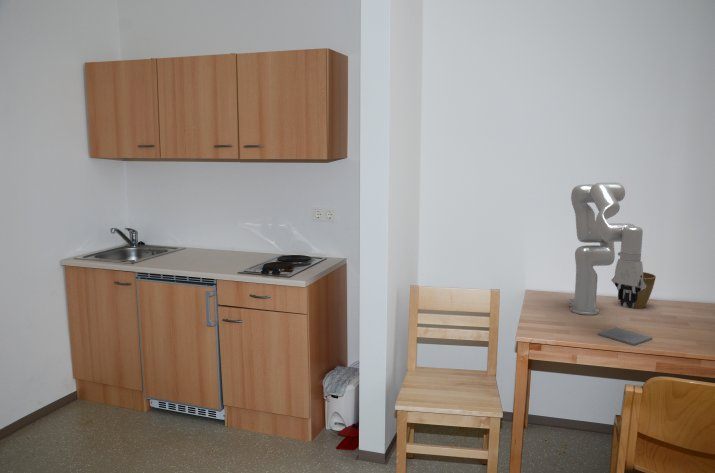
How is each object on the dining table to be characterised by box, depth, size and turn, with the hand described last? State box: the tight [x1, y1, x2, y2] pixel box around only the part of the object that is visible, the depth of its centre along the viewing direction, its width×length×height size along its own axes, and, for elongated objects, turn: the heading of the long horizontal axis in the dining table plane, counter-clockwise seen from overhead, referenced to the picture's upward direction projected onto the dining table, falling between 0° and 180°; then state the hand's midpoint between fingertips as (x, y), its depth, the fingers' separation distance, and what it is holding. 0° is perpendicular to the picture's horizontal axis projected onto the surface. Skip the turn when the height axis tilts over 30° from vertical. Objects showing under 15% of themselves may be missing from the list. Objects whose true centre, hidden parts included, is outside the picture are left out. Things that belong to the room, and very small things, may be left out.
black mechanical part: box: [618, 284, 634, 309], centre depth 237 cm, size 7×5×10 cm
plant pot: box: [632, 271, 657, 309], centre depth 282 cm, size 15×15×16 cm
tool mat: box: [597, 327, 653, 346], centre depth 239 cm, size 16×13×1 cm
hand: (627, 300), depth 237 cm, fingers closed on black mechanical part, 4 cm apart
